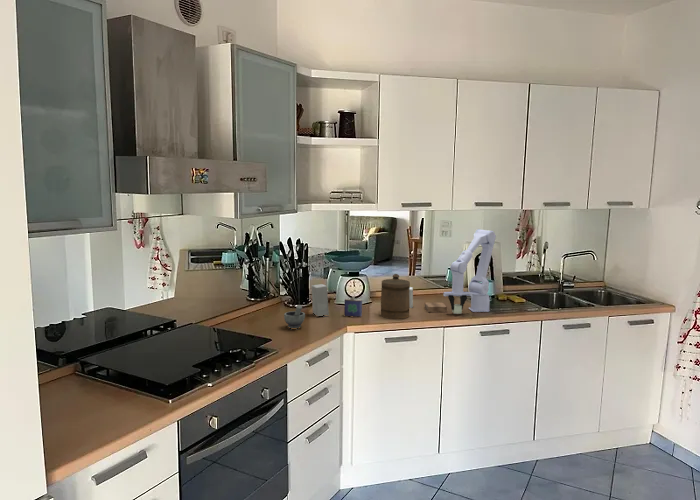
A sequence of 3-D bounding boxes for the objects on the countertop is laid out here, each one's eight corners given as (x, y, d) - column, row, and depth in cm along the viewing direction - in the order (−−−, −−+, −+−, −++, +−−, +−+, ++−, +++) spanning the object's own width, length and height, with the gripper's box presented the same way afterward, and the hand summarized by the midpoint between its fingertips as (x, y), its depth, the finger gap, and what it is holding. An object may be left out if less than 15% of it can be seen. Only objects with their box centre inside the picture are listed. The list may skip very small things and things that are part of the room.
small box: (412, 305, 304) (413, 287, 302) (412, 307, 298) (413, 289, 297) (398, 305, 305) (398, 286, 303) (398, 307, 299) (398, 288, 298)
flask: (362, 316, 279) (362, 296, 277) (361, 317, 276) (361, 297, 275) (344, 315, 281) (345, 295, 279) (343, 316, 278) (343, 296, 276)
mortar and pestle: (281, 326, 258) (281, 302, 256) (299, 324, 263) (298, 299, 261) (291, 332, 248) (291, 307, 247) (309, 329, 253) (309, 304, 252)
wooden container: (398, 311, 291) (399, 270, 288) (414, 317, 278) (416, 275, 275) (375, 314, 284) (376, 272, 281) (390, 320, 271) (391, 277, 268)
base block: (442, 307, 299) (442, 302, 298) (446, 312, 289) (447, 306, 289) (424, 307, 298) (424, 302, 298) (428, 312, 288) (428, 306, 288)
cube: (459, 311, 286) (459, 304, 286) (461, 313, 282) (461, 306, 282) (452, 311, 286) (452, 304, 285) (454, 313, 282) (454, 306, 282)
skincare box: (328, 316, 277) (329, 286, 275) (315, 317, 275) (315, 287, 273) (324, 312, 285) (324, 283, 283) (311, 313, 283) (311, 284, 281)
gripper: (446, 285, 278) (445, 311, 279) (473, 285, 279) (472, 311, 281) (442, 283, 285) (441, 308, 286) (469, 282, 286) (468, 307, 287)
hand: (456, 309), depth 284 cm, fingers closed on cube, 4 cm apart
